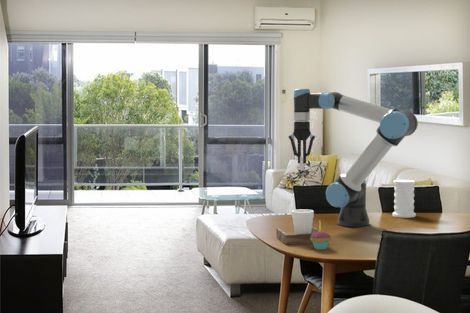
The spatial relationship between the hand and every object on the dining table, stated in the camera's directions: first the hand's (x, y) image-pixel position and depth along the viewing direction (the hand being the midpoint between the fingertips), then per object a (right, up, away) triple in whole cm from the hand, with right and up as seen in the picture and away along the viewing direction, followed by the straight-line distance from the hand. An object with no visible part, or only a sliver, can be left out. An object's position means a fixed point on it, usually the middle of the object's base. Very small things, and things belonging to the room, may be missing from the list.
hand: (302, 170), depth 356 cm
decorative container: (+54, -24, +24) cm, 64 cm away
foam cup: (-3, -30, -35) cm, 46 cm away
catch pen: (-4, -30, -33) cm, 45 cm away
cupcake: (+3, -32, -51) cm, 60 cm away
